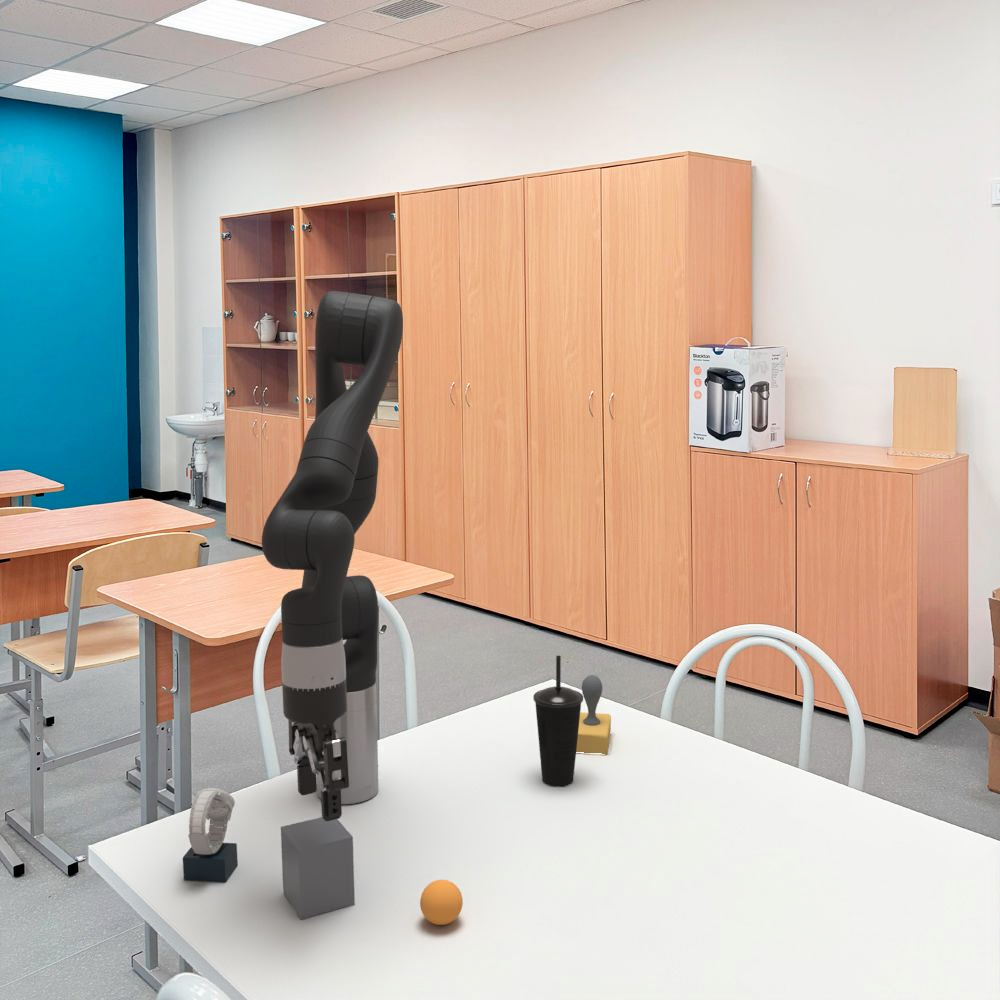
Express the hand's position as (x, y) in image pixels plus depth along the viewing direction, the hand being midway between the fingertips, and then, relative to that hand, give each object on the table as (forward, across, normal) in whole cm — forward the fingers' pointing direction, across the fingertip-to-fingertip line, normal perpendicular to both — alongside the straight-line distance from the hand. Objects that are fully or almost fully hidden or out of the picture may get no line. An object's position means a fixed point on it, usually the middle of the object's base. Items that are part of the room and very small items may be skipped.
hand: (319, 805), depth 127 cm
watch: (+12, +14, +10) cm, 21 cm away
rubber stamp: (+12, +25, -57) cm, 63 cm away
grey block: (+12, +1, 0) cm, 12 cm away
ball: (+10, -12, -10) cm, 19 cm away
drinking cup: (+12, +15, -44) cm, 48 cm away
